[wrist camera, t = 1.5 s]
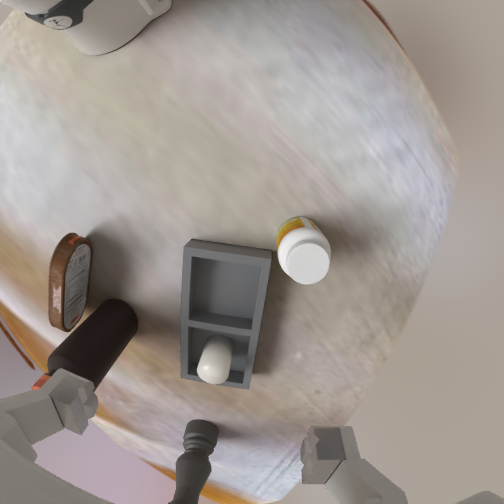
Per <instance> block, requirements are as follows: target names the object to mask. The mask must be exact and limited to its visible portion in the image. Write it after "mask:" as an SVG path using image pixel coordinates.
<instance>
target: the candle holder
mask: <svg viewBox="0 0 504 504" xmlns="http://www.w3.org/2000/svg"><path fill="white" fill-rule="evenodd" d="M218 433H219V432H218V428H217V427H216V426H215V425H214V424H212V423H210V422H208V421H205V420H192V421H190V422H188V424H187V427H186V430H185V434H184V437H183V438H184V442H183V446H184V448H185V452H184V454H182V455H181V456H180V457H179V458H178V460H177V462H176V491H175V495H174V498H173V500H172V502H169V503H168V504H198V499H199V495H200V492H201V490H202V488H203V486H204V484H205V482H206V480H207V479H208V477H209V475H210V473H211V464H210V462H209V460H208V459H209V458H208V456H209V455H211V454H212V453H213V451H214V448H215V446H216V444H217V438H218Z"/></svg>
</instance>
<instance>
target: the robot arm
mask: <svg viewBox="0 0 504 504" xmlns="http://www.w3.org/2000/svg"><path fill="white" fill-rule="evenodd" d="M171 1H172V0H162V1H161V0H0V3H2V4H5V5H8V6H11V7H13V8H16V9H19V10H21V11H23V12H25V15H26V16H27V17H29V18H31V19H33V20H34V21H36V22H39V23H41V24H43V25H45V26H48V27H50V28H53V29H57V30H59V31H61V32H62V33H63V34H65V35H66V36H67V37H68V38H69V39H70V40H71V41H72V42H73V43H74V45H75V46H76V47H77V49H78V50H79V51H80V52H82V53H84V54H86V55H101V54H105V53H108V52H111V51H113V50H115V49H117V48H119V47H121V46H122V45H124V44H126V43H127V42H128V41H130V40H131V39H132V38H134V37H135V36H136V35H137V34H138V33H139V32H140V31H141V30H142V29H143V28H144V27H145V26H146V25H147V24H148V23H149V22H150V21H151V20H153V19H155V18H156V17H158V16H160V15H162V14H163V13H165V12H166V11H168V10H169V9H170V7H171ZM94 389H95V387H94V384H93V382H91V381H89V380H87V379H85V378H82V377H80V376H78V375H75V374H73V373H71V372H69V371H66V370H64V369H62V368H61V369H58V370H57V371H56V372H55V373H54V374H53V375H52V376H51V377H50V378H49V379H48V381H47V382H46V383H45V384H44V385H43V386H42V387H41V388H40V389H39V390H37V389H34V390H31V391H28V392H24V393H21V394H17V395H14V396H10V397H6V398H3V399H0V504H114V503H112V502H109V501H107V500H104V499H102V498H99V497H97V496H95V495H93V494H91V493H88V492H86V491H84V490H82V489H80V488H78V487H76V486H74V485H72V484H70V483H68V482H66V481H64V480H63V479H61V478H59V477H57V476H56V475H54V474H52V473H50V472H49V471H47V470H45V469H44V468H42V467H40V466H39V465H37V464H35V463H34V461H35V460H36V458H37V453H36V452H35V450H34V449H33V447H32V446H31V445H32V444H34V443H36V442H38V441H41V440H43V439H44V438H46V437H49V436H51V435H53V434H55V433H56V432H58V431H60V430H62V429H64V428H66V429H68V430H71V431H73V432H75V433H77V434H80V435H82V434H83V432H84V431H85V429H86V427H87V426H88V419H90V418H92V417H94V415H95V413H96V411H97V408H98V399H97V396H96V395H95V393H94V392H93V390H94ZM300 456H301V462H302V463H303V464H304V466H303V468H302V470H301V471H302V484H325V486H326V487H327V489H328V490H329V491H330V493H331V494H332V495H333V496H334V497H335V499H336V500H337V501H338V502H339V503H340V504H408V502H407V498H406V495H405V492H404V491H403V490H401V489H400V488H399V487H397V486H396V485H395V484H394V483H393V482H391V481H390V480H389V479H388V478H386V477H385V476H384V475H383V474H382V473H380V472H379V471H378V470H377V469H376V468H375V467H373V466H372V465H371V464H370V463H369V462H367V461H366V460H365V459H361V458H360V454H359V450H358V447H357V443H356V439H355V436H354V432H353V429H352V427H351V426H338V427H337V426H311V427H310V428H309V430H308V437H307V438H305V439H304V441H303V443H302V447H301V455H300ZM454 504H504V499H503V498H501V497H500V496H498V495H496V494H494V493H492V492H489V491H482V492H480V493H477V494H475V495H473V496H471V497H469V498H466V499H464V500H462V501H459V502H457V503H454Z"/></svg>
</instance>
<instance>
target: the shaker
mask: <svg viewBox="0 0 504 504" xmlns="http://www.w3.org/2000/svg"><path fill="white" fill-rule="evenodd" d="M233 349H234V345H233V342H232V341H231V340H230V339H229V338H228V337H226V336H224V335H220V334H216V335H212V336H210V337H209V338H208V339H207V341H206V344H205V347H204V350H203V353H202V356H201V358H200V361H199V364H198V367H197V373H198V375H199V377H200V378H201V379H202V380H204V381H205V382H207V383H211V384H220V383H223V382H225V381H226V380H227V378H228V375H229V370H230V365H231V360H232V354H233Z"/></svg>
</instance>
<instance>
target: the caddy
mask: <svg viewBox="0 0 504 504" xmlns="http://www.w3.org/2000/svg"><path fill="white" fill-rule="evenodd" d="M271 260H272V257H271V250H266V249H259V248H252V247H245V246H238V245H231V244H224V243H217V242H210V241H203V240H196V239H191V240H190V241H189V242H188V243H187V244H186V245H185V246H184V252H183V270H182V295H181V378H184V379H189V380H194V381H199V382H205V381H204V380H202V379H201V378H200V377H199V375H198V373H197V367H198V364H199V361H200V358H201V356H202V353H203V350H204V347H205V344H206V341H207V339H208V338H209V337H210V336H212V335H216V334H220V335H224V336H226V337H228V338H229V339H230V340H231V341H232V342H233V345H234V349H233V354H232V360H231V365H230V370H229V375H228V378H227V380H226V381H225V382H223V383H220V384H216V385H222V386H228V387H235V388H242V389H249V386H250V381H251V375H252V370H253V364H254V359H255V353H256V348H257V342H258V337H259V331H260V325H261V319H262V314H263V308H264V302H265V296H266V290H267V284H268V278H269V272H270V266H271ZM205 383H207V382H205ZM210 384H211V383H210Z"/></svg>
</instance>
